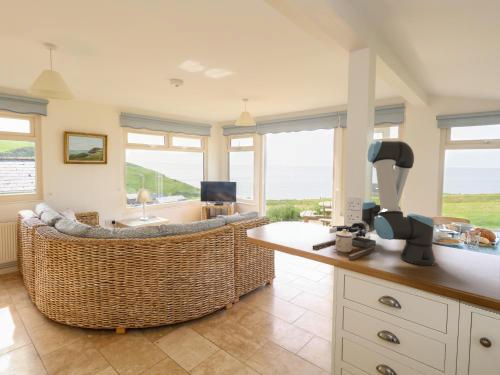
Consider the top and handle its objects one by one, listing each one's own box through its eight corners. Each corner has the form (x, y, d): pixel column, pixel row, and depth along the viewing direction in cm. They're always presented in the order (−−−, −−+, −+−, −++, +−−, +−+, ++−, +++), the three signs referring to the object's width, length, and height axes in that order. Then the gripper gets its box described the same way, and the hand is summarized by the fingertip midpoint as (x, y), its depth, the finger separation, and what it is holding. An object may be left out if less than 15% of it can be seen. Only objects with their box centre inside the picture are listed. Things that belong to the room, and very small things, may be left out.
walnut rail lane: (374, 251, 158) (374, 247, 158) (351, 260, 141) (351, 256, 141) (336, 241, 176) (336, 238, 175) (312, 249, 159) (312, 245, 159)
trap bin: (375, 245, 170) (375, 240, 169) (366, 248, 162) (367, 243, 162) (353, 240, 180) (354, 235, 180) (344, 243, 173) (344, 238, 172)
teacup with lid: (341, 246, 165) (342, 227, 164) (355, 250, 158) (356, 230, 157) (328, 250, 158) (329, 229, 157) (343, 254, 151) (344, 232, 150)
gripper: (380, 238, 161) (361, 245, 147) (340, 230, 180) (321, 235, 166) (381, 225, 160) (362, 230, 146) (341, 218, 179) (321, 222, 165)
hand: (340, 233), depth 156 cm, fingers open, 13 cm apart
